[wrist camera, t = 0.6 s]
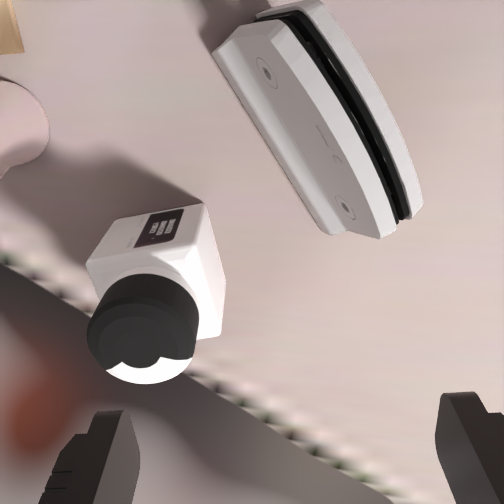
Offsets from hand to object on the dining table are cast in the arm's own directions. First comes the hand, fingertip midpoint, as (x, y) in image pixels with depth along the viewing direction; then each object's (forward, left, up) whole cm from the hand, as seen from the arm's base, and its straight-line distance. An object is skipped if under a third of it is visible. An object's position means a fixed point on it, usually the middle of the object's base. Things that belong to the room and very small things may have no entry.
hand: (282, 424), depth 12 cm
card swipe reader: (-2, +4, -27) cm, 27 cm away
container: (+8, -8, -27) cm, 29 cm away
